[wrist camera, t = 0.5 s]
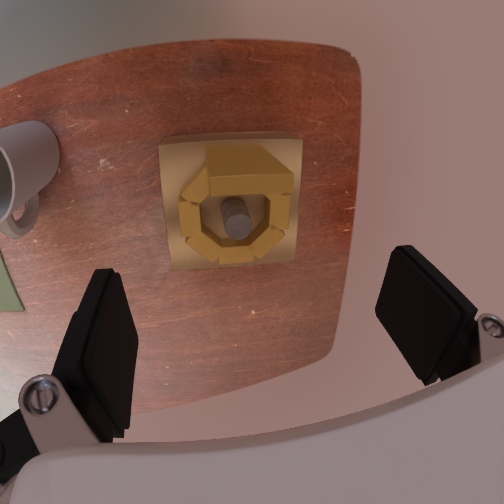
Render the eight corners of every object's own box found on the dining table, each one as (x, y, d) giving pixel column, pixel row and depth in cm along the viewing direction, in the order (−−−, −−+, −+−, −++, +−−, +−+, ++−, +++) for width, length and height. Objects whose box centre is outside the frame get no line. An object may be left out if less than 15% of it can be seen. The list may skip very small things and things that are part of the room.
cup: (56, 111, 21) (5, 123, 13) (73, 208, 26) (36, 252, 18) (2, 130, 20) (-52, 151, 12) (21, 218, 25) (-21, 261, 17)
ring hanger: (175, 147, 21) (160, 180, 13) (287, 142, 22) (336, 173, 14) (185, 258, 25) (183, 333, 18) (281, 250, 26) (316, 318, 19)
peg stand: (164, 136, 24) (150, 154, 17) (285, 131, 26) (320, 147, 19) (175, 244, 30) (170, 297, 23) (281, 236, 32) (307, 284, 24)
